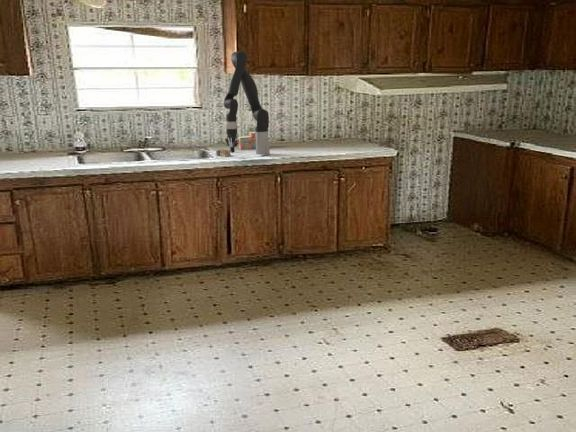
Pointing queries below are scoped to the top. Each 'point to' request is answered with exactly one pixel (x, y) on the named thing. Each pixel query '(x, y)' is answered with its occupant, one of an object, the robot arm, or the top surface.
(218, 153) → the board with wall
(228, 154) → the block
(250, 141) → the stack of blocks
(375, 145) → the top surface
